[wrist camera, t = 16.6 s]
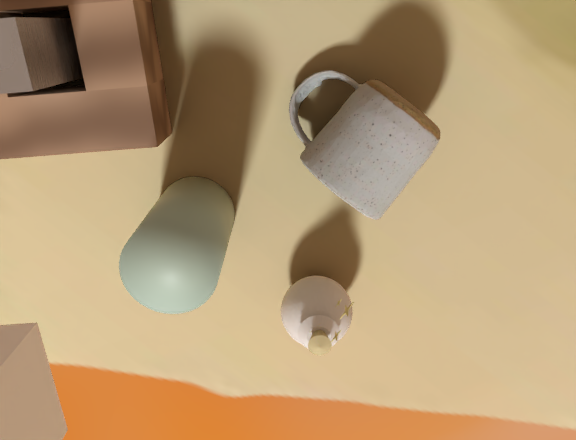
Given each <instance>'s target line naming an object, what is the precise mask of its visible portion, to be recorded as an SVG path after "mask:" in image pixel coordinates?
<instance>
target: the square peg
mask: <svg viewBox="0 0 576 440" xmlns="http://www.w3.org/2000/svg"><path fill="white" fill-rule="evenodd" d="M80 78H83V74H82V69H81V64H80V59H79V55H78V50H77V45H76V40H75V36H74V31H73V26H72V21H71V18H34V17H11V18H0V94H5V93H17V92H30V91H36V90H39V89H43V88H47V87H51V86H54V85H58V84H62V83H65V82H69V81H73V80H77V79H80Z"/></svg>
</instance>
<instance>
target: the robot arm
mask: <svg viewBox="0 0 576 440" xmlns="http://www.w3.org/2000/svg"><path fill="white" fill-rule="evenodd" d="M66 432H67V426H66V422H65V419H64V415H63V412H62V408H61V405H60V401H59V398H58V394H57V391H56V387H55V384H54V380H53V377H52V373H51V370H50V366H49V363H48V359H47V356H46V352H45V349H44V345H43V342H42V338H41V335H40V331H39V328H38V324H37V323H26V324H11V325H0V440H62V439H63V437H64V436H65V433H66Z"/></svg>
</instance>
